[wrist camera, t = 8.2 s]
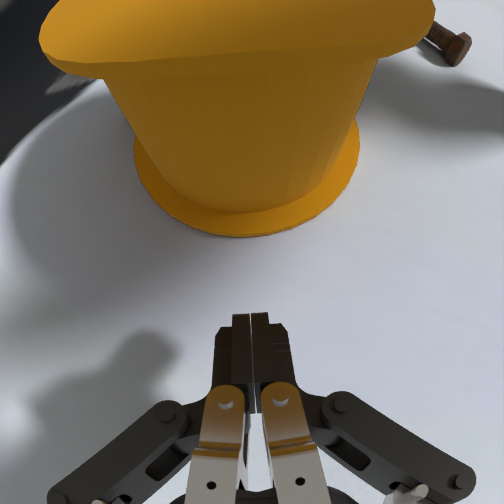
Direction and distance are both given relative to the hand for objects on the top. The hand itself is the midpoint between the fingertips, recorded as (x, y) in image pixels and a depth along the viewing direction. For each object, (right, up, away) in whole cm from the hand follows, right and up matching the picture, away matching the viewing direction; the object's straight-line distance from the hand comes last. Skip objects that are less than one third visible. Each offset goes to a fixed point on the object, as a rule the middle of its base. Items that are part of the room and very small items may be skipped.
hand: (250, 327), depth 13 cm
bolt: (+22, +33, +14) cm, 42 cm away
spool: (-1, +13, +10) cm, 16 cm away
